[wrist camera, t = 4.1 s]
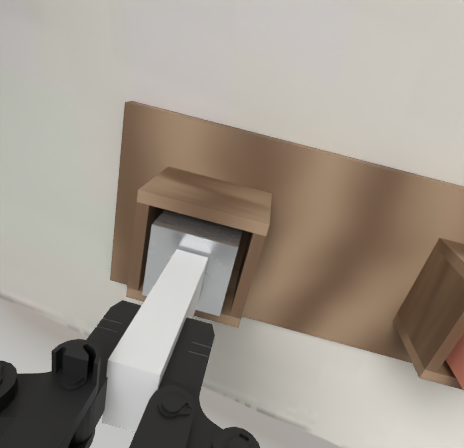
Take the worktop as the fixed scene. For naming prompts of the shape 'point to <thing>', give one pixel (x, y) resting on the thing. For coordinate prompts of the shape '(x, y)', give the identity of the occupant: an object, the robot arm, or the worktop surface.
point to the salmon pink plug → (457, 361)
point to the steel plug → (197, 242)
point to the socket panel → (302, 235)
